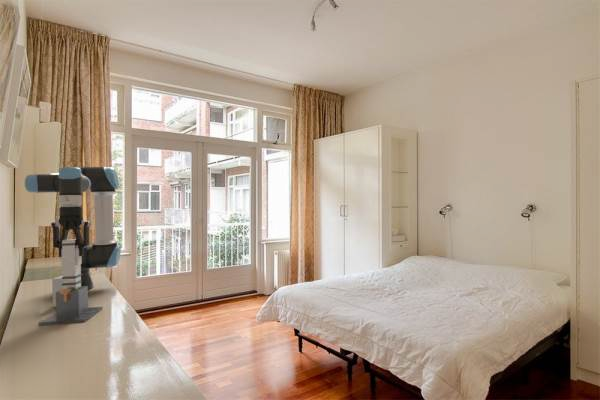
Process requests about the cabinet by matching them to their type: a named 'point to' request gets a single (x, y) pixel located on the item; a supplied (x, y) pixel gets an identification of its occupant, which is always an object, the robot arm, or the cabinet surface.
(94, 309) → the stand base
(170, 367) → the cabinet surface
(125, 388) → the cabinet surface
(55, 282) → the supplement box
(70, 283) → the column
